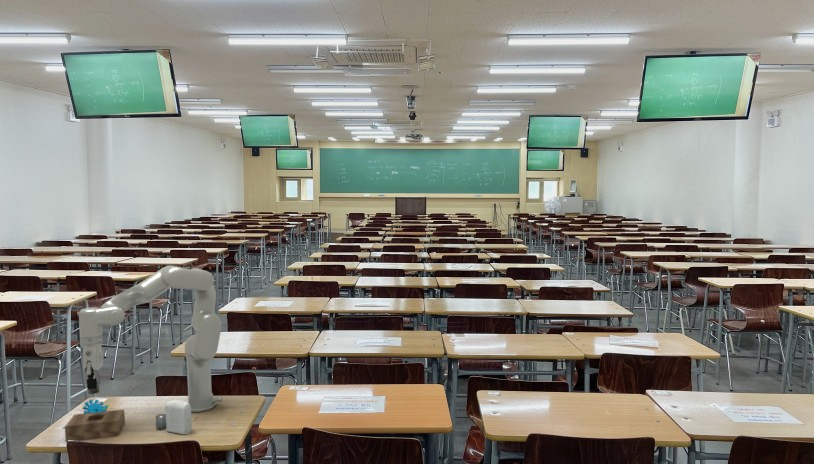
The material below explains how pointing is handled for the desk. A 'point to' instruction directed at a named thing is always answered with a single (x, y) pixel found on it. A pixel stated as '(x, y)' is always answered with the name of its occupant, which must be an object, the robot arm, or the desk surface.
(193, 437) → the desk surface
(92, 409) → the gear
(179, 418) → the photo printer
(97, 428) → the hole block
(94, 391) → the long pin
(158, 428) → the short pin
